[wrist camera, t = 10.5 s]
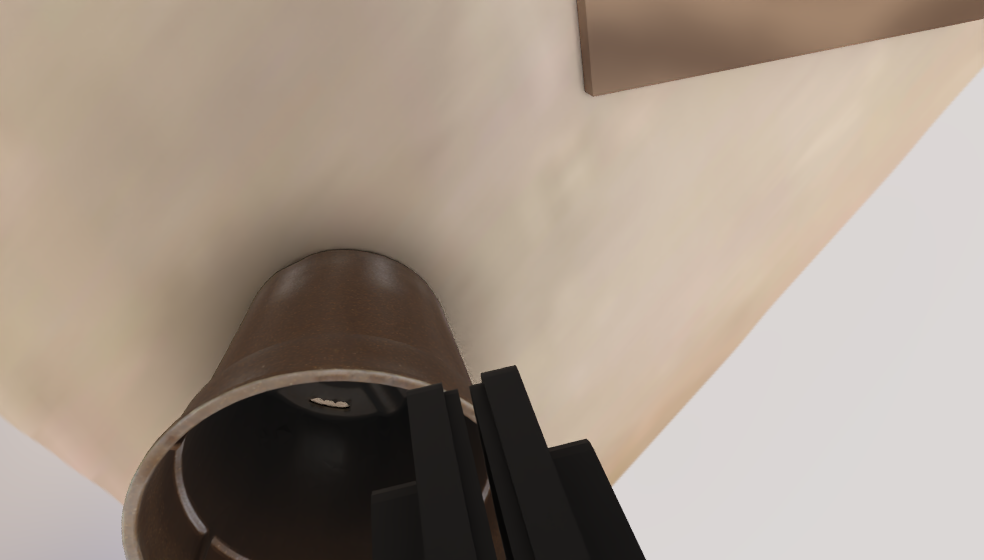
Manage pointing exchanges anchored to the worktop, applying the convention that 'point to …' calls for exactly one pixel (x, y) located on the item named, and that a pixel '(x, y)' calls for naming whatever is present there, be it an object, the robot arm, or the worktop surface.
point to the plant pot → (302, 421)
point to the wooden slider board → (736, 33)
